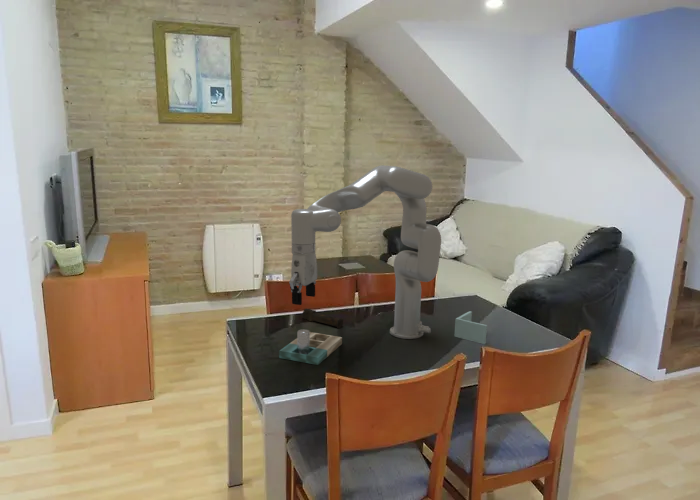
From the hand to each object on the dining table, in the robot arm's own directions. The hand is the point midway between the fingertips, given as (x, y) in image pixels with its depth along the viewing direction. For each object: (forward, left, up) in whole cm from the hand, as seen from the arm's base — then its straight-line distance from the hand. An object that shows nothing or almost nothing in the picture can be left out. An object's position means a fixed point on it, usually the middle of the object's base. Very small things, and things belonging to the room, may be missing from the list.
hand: (303, 300), depth 170 cm
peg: (0, 0, -20) cm, 20 cm away
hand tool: (+9, -33, -20) cm, 40 cm away
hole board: (0, -6, -20) cm, 21 cm away
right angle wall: (-49, -45, -21) cm, 70 cm away
